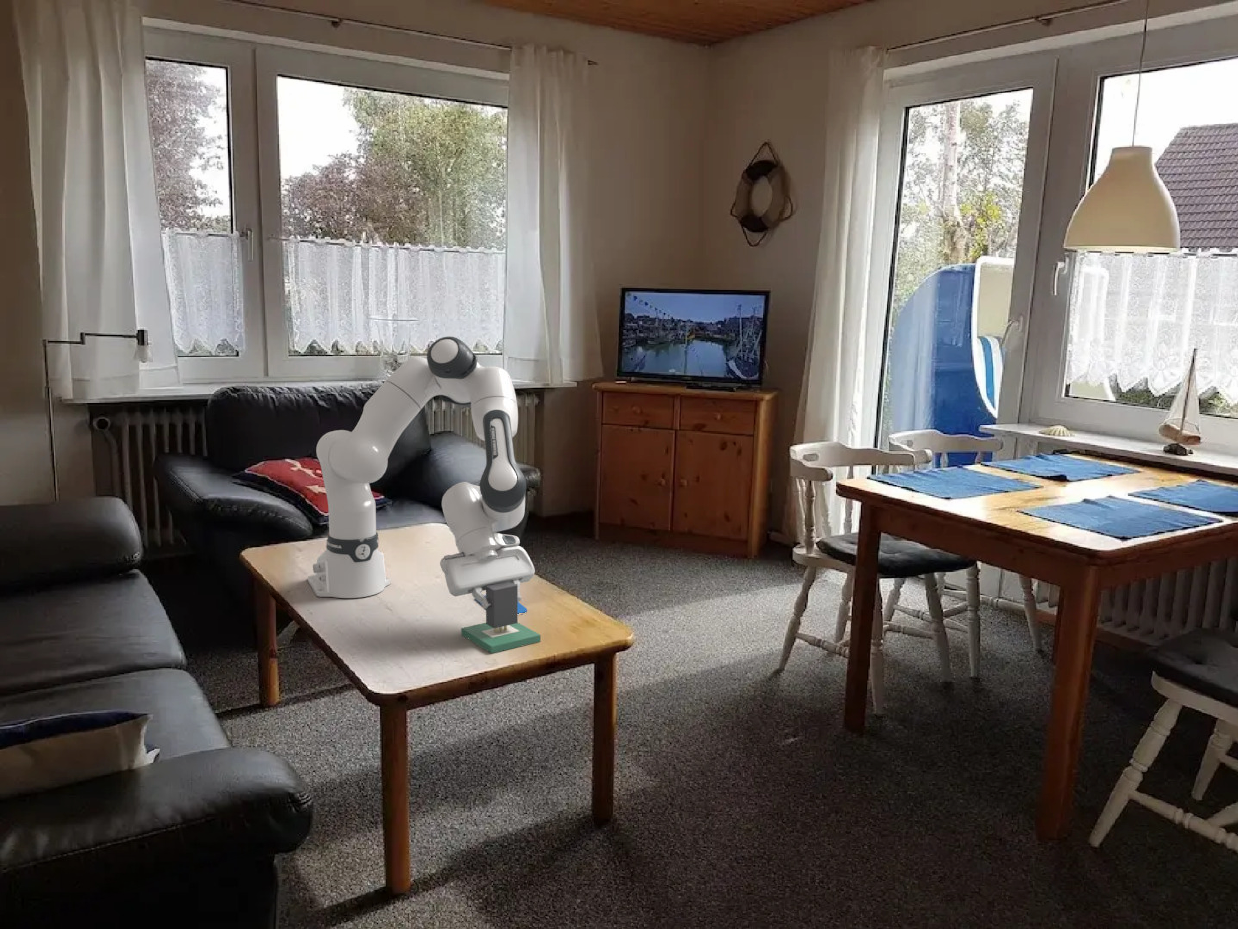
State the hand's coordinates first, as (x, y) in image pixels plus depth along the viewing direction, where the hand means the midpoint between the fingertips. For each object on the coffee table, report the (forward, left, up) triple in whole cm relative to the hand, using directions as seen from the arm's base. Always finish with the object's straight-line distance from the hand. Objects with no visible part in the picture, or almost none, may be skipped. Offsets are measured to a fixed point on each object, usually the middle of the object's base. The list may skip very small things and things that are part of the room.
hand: (503, 604), depth 206 cm
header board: (-1, 0, -8) cm, 8 cm away
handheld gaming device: (-19, +11, -8) cm, 23 cm away
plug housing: (-1, 0, -5) cm, 5 cm away
